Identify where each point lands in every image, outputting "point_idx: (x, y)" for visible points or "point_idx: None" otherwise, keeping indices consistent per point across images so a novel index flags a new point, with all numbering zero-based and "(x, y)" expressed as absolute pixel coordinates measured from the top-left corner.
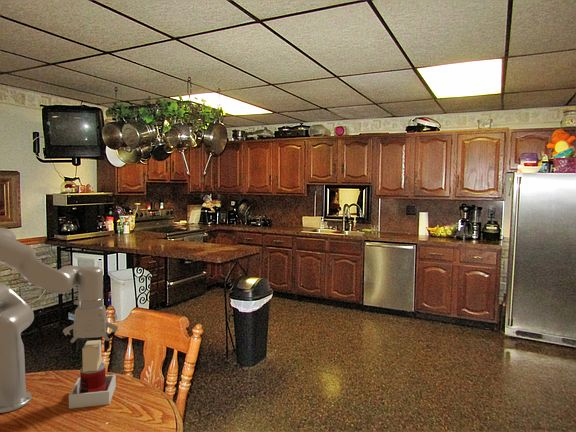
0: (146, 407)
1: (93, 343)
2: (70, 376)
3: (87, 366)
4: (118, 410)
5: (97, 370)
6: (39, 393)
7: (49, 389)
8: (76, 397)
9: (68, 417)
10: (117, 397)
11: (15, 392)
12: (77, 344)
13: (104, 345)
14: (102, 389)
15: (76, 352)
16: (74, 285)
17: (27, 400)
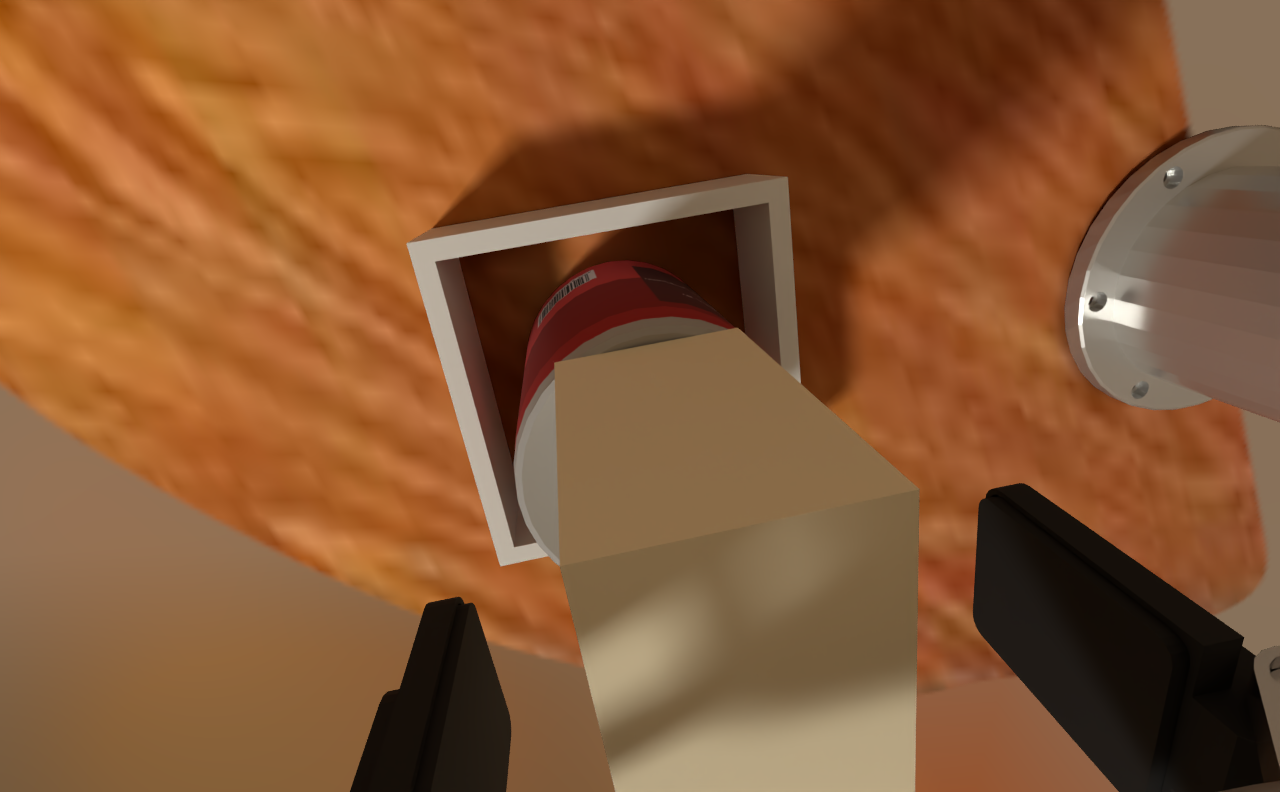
0: (29, 153)
1: (745, 767)
2: None
3: (694, 359)
4: (292, 115)
5: None
6: (1027, 404)
7: (976, 456)
8: (711, 187)
9: (700, 24)
10: (412, 340)
11: (1259, 222)
12: (1073, 695)
13: (438, 715)
14: (530, 345)
15: (983, 536)
16: None
17: (1091, 266)
